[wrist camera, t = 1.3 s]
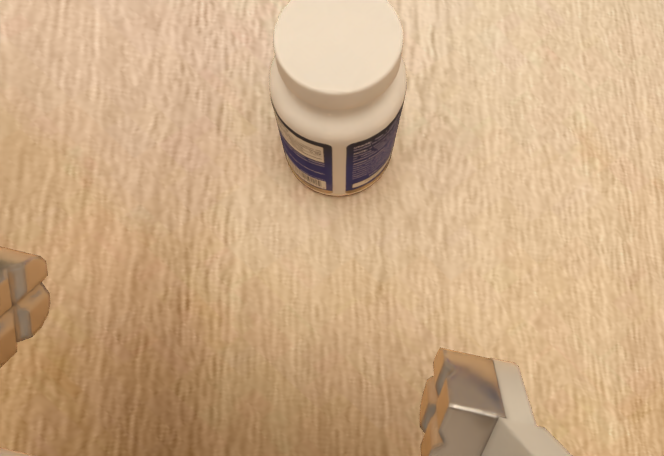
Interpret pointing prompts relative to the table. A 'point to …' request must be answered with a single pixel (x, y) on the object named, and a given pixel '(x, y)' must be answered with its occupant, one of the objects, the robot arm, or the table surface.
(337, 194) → the pill bottle
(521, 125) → the table surface
